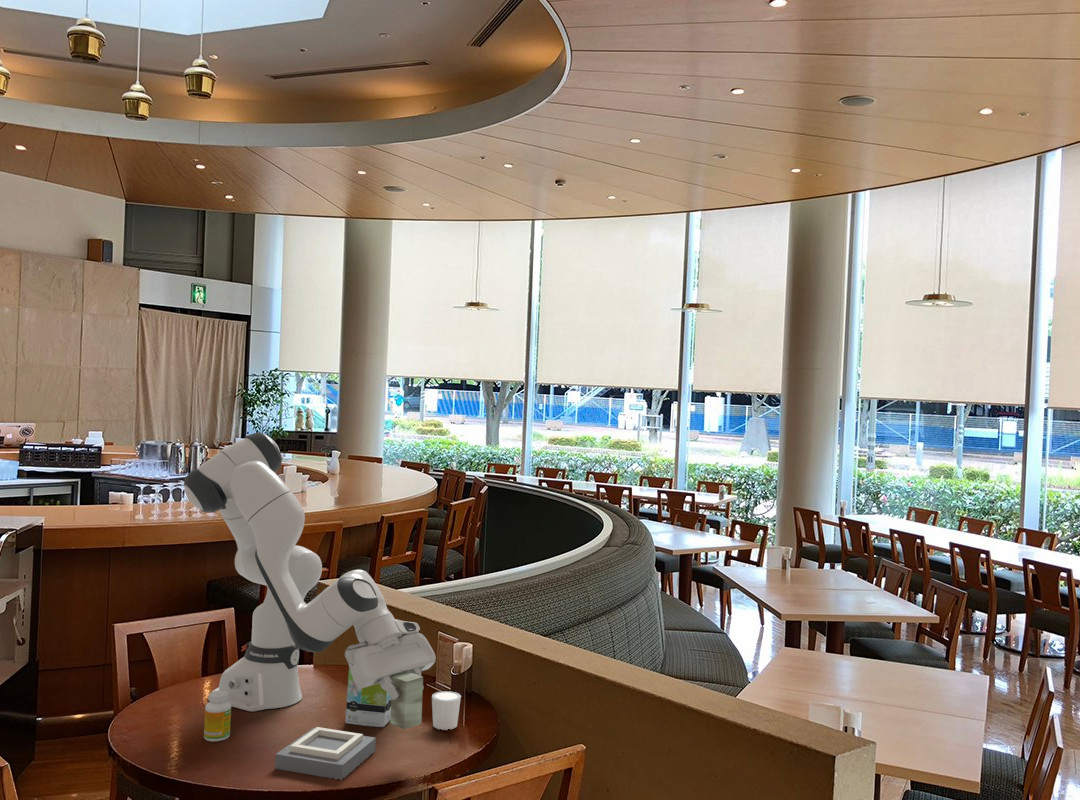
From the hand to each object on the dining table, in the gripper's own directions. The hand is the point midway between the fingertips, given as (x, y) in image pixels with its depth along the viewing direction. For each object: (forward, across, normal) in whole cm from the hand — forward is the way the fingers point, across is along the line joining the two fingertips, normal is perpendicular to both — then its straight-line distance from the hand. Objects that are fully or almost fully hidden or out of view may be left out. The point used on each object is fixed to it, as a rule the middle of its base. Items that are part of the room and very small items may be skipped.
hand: (408, 694), depth 183 cm
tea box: (-8, +12, +28) cm, 32 cm away
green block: (+4, 0, +5) cm, 6 cm away
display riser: (+2, -12, +18) cm, 22 cm away
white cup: (+4, +20, +17) cm, 26 cm away
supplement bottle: (-17, -22, +37) cm, 46 cm away
